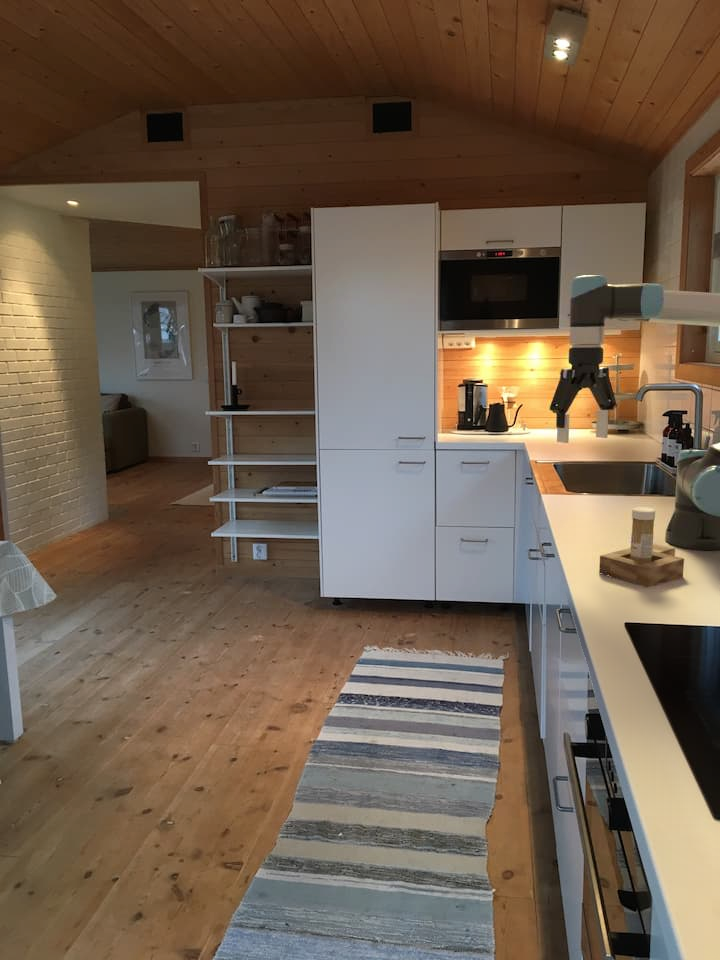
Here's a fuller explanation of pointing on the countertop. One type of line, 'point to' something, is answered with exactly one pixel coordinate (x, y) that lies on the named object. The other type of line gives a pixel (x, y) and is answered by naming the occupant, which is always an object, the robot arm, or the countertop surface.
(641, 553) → the sprinkles bottle
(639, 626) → the countertop surface
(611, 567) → the socket block
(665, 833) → the countertop surface
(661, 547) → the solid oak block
